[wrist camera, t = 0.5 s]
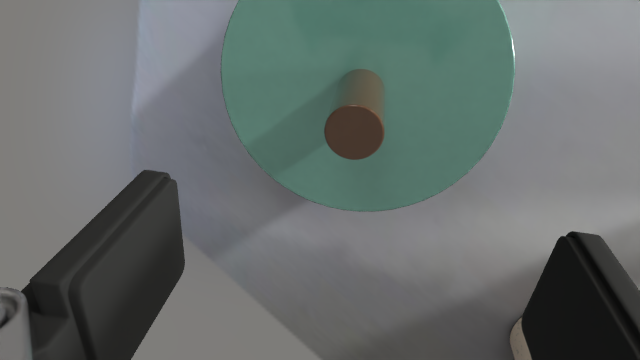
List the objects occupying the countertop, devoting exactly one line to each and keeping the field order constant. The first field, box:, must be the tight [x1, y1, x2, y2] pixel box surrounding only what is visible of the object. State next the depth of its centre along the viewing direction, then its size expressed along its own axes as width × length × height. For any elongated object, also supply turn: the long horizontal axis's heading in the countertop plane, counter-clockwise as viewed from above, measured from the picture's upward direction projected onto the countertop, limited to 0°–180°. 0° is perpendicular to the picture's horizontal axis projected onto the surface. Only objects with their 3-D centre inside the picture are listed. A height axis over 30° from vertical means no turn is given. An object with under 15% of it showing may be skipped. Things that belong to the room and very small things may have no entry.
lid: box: [221, 0, 515, 211], centre depth 19 cm, size 14×14×6 cm
